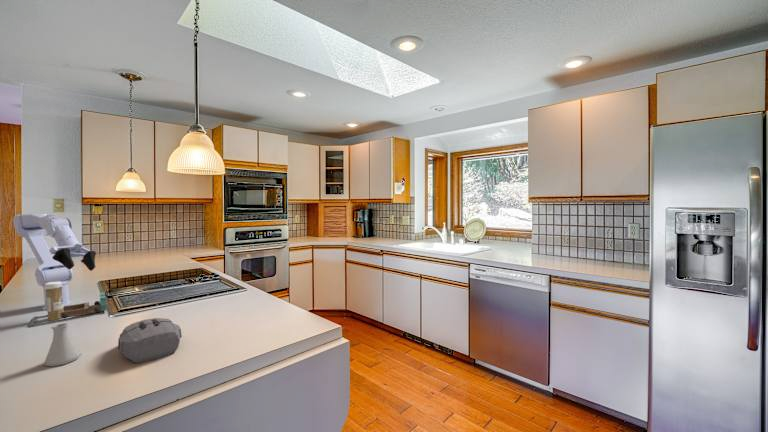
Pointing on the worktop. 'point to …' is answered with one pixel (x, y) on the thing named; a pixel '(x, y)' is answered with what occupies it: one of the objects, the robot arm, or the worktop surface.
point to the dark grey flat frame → (58, 320)
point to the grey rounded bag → (149, 339)
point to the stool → (84, 308)
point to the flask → (61, 347)
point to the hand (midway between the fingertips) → (82, 268)
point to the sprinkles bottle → (54, 299)
